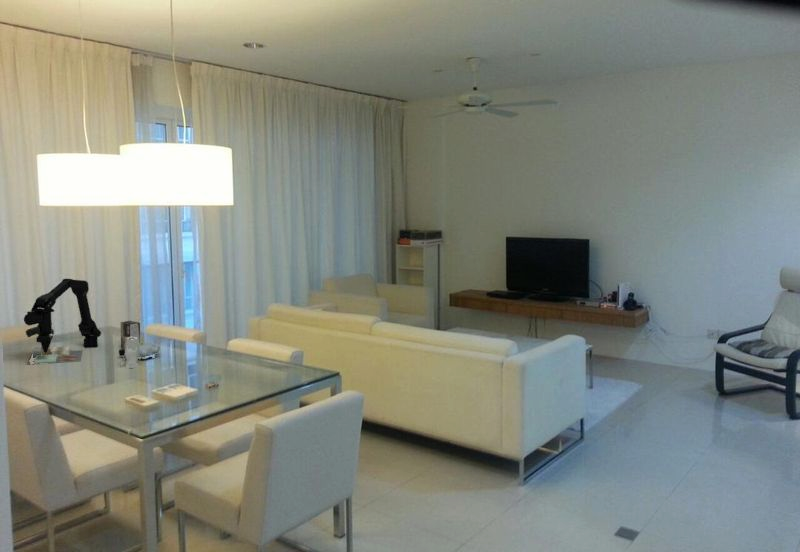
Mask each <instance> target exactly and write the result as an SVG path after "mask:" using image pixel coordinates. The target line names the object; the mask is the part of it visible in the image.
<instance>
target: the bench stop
mask: <svg viewBox="0 0 800 552" xmlns="http://www.w3.org/2000/svg"><path fill="white" fill-rule="evenodd" d="M32 353H33V358H35V357H36V356H38V355H41V346H36V347H35V346H34V349H33V351H32Z"/></svg>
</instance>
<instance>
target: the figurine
mask: <svg viewBox="0 0 800 552" xmlns="http://www.w3.org/2000/svg"><path fill="white" fill-rule="evenodd" d="M139 344H140V348H139V355H138V357H145V356H150V355H153V354H155V353H156V354H158V353H159V352H160V348H161V347H160V345H159V344H154V343H153V342H140V343H139ZM118 354H119V355H118V356H119V357H123V356H124V358H125V359H126V354H125V349H121V348H120V349H119V350H118Z"/></svg>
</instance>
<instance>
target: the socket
mask: <svg viewBox="0 0 800 552" xmlns="http://www.w3.org/2000/svg"><path fill="white" fill-rule="evenodd" d="M62 358H74V359H62ZM62 361H76V355H73V356H61V357H60V362H62Z"/></svg>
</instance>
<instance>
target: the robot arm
mask: <svg viewBox="0 0 800 552" xmlns="http://www.w3.org/2000/svg"><path fill="white" fill-rule="evenodd" d="M69 289H71V293H73V294H74V296H75V297H76V301H77V305H78V306H77V307H78V310H79V314H80V323H78V331H79V332H80V335H81V336H82V337H84V338H83V347H84V348H85V349H94V348H95V349H96V348H98V347H99V343H98V338H99V337H101V335H102V331H100V329H99V328H98V326H97V324H96V322H95V321H94V319H93V318H92V314H91V311H90V310H91V309H90V305H89V301H88V295H87V294H88V293H89V290H90V289H89V283H88V281H87V280H84V279H83V280H81V279H73V278H63V279H62V281H61V282H60V283H58V284H57V285H56V286H55V287H54V288H53V289H51V290H50V291H49V292H48V293H45V294H42V295H39V296H38V297H37V298H36V299H35V302H34V304H33V306H32V307H31V309H30V311H27V312H26V313H27V314H25V315H24V318H23V321H24V324H25V325H26V326H34V325H37V326H34V327H31V328H27V329H26V330H25V335H26V336H27V338H31V337H32V336H34V335H37V336H36V343H40V345H41V344H42V347H43V350H44V353H47V350H48V348H49V345H50V346H51V344H52V340H53V337H54V334H55V330H54V329H53V327H52V326H53V322H52V313H54V312H55V310H54V309H53V307H54V306H55V304H56V303H57V300H58V299H59V298H60V297H61V296H62V295H63V294H65V293H66V292H67V290H69Z"/></svg>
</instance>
